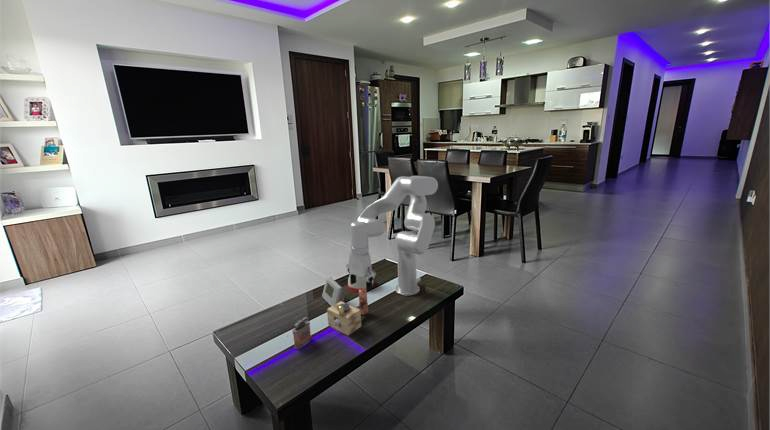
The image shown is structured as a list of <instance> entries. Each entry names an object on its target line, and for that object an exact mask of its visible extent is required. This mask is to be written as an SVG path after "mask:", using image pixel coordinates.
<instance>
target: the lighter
mask: <svg viewBox="0 0 770 430" xmlns="http://www.w3.org/2000/svg"><path fill="white" fill-rule="evenodd" d="M292 335H293V342H294V343H293V344H294V349H295V350H300V349H301V348H303V347H304V346H306V345H307V344H309V343H310V342H311V341H312V338H313V337H312V335H311V321H309V320H308V317H307V316H304V317H303V318H302V319H299V320H297V321H296V323H295V324H294V328H293V329H292Z"/></svg>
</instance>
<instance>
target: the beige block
mask: <svg viewBox="0 0 770 430" xmlns="http://www.w3.org/2000/svg"><path fill="white" fill-rule="evenodd" d="M340 304H347V303H346V302H345V301H344V302H341V301H340V302H339V303H337V304H335V305H333V306H331V305H330V306H329V307H328V308H327V309H326V314H327V325H328V326H329V327H330V328H333V329H334V330H336V331H339V332H340V333H342V334H343V335H346V336H349V335H351V334H353V333H355V332H356V331H357V330H358V329H359V328H361V327H362V316H361V315H362V314H361V311H360V309H358V308H356V306H353V305H350V304H348V305H349V310H348V311H345V312H344V316H343V317H340V316H339V311H338V308H337V307H338V305H340ZM337 318H338V319H340V324H339V325H337V326H335V325H334V320H336V319H337Z"/></svg>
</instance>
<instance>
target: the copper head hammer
mask: <svg viewBox="0 0 770 430" xmlns="http://www.w3.org/2000/svg"><path fill="white" fill-rule="evenodd" d="M358 301H359V303H358V305H357V306H355V308H358V309H360V311H361V315H363V316H365V315H367V314H368V313H369V303H368V292H367V290H366V288H360V289H359V291H358ZM339 324H340V319H338V318H337V319H336V320H334V325H335V326H337V325H339Z"/></svg>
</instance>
